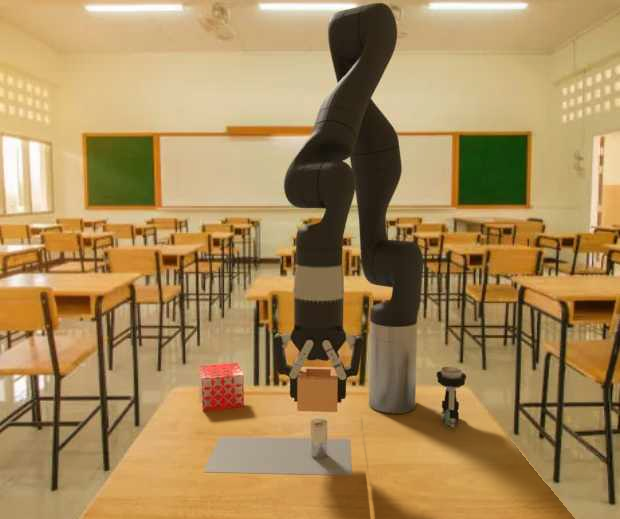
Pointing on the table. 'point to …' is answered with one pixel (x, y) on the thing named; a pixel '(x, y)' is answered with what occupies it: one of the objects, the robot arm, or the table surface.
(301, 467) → the base plate
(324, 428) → the steel post
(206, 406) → the red white patterned cube
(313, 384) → the collar
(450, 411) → the push button
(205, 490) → the table surface
